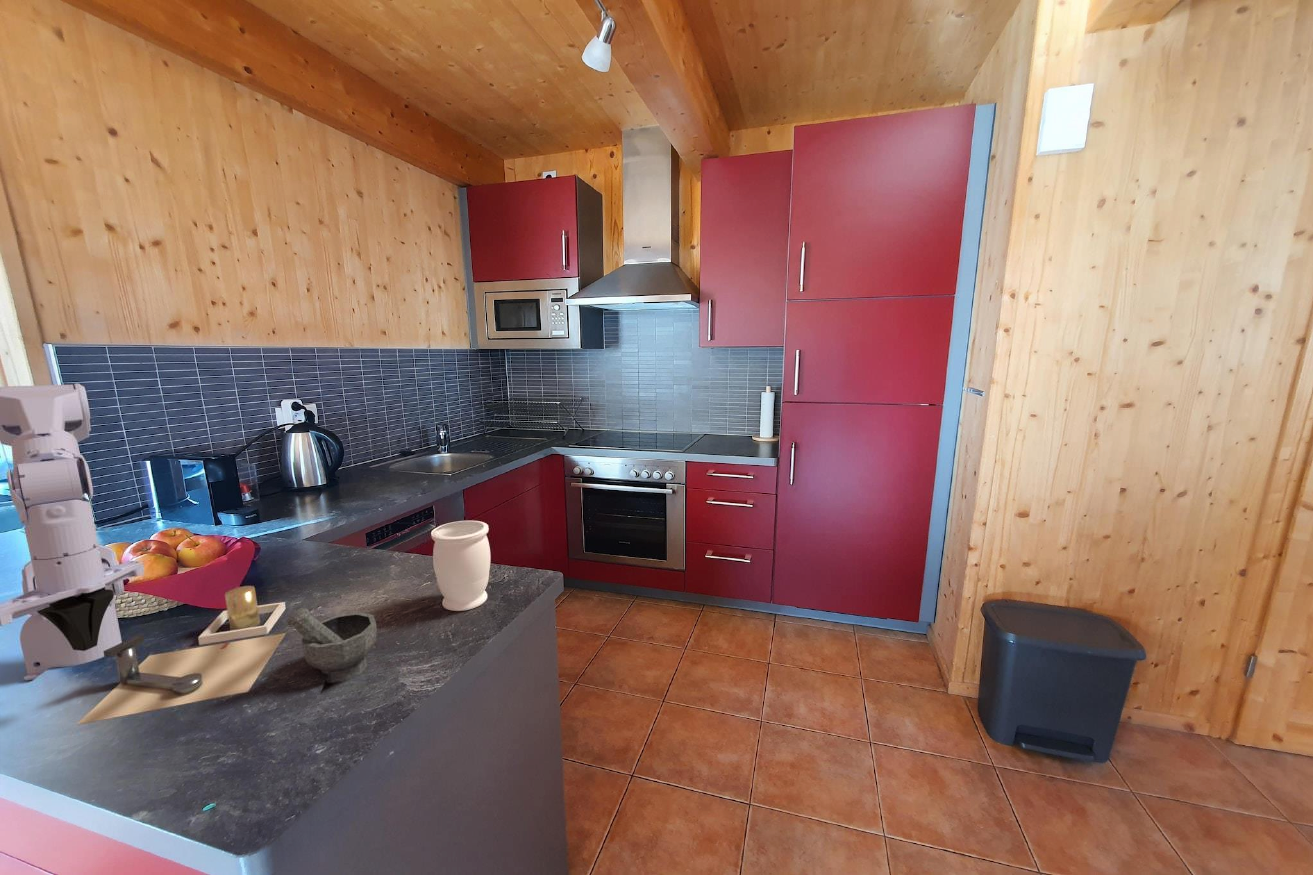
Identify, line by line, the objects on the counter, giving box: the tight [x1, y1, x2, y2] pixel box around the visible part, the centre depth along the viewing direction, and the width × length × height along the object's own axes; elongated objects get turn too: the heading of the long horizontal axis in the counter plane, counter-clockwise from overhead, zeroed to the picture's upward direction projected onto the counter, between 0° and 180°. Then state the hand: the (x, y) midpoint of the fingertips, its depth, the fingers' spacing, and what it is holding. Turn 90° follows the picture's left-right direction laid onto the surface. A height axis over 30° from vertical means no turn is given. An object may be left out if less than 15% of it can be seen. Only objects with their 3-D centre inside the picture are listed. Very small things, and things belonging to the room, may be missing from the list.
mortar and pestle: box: [286, 607, 378, 684], centre depth 75 cm, size 11×9×12 cm
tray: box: [197, 601, 286, 646], centre depth 87 cm, size 9×9×2 cm
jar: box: [430, 520, 491, 612], centre depth 97 cm, size 11×10×15 cm
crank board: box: [75, 632, 287, 726], centre depth 74 cm, size 18×16×1 cm
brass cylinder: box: [224, 585, 261, 631], centre depth 87 cm, size 4×4×7 cm
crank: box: [103, 635, 203, 695], centre depth 70 cm, size 12×4×6 cm, turn 81°
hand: (85, 647), depth 67 cm, fingers closed
